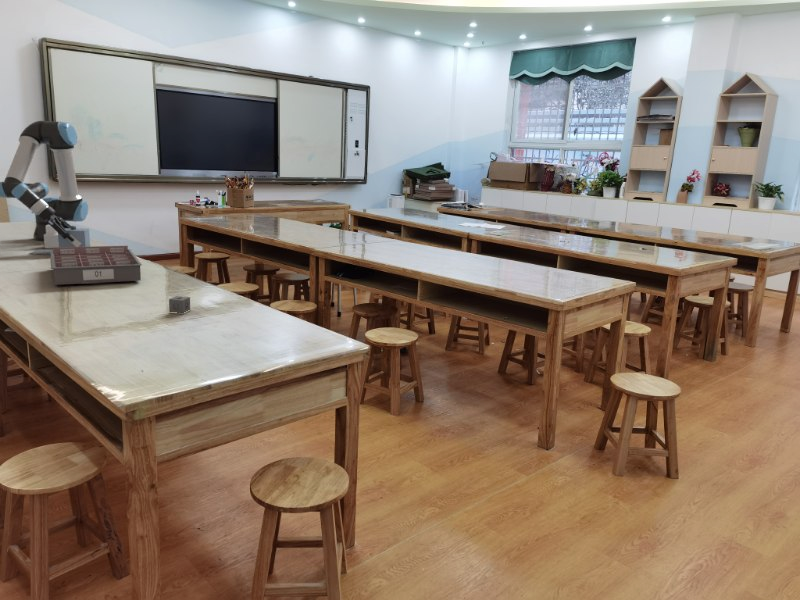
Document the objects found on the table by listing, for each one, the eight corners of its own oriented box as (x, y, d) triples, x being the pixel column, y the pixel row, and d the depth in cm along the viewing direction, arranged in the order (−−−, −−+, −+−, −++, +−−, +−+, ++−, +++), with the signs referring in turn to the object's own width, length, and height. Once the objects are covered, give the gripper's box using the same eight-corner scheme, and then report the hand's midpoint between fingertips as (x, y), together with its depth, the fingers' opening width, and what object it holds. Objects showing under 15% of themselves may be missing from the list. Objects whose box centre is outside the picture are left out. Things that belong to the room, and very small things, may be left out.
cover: (64, 249, 304) (62, 224, 301) (90, 250, 307) (88, 225, 304) (59, 252, 296) (57, 226, 293) (86, 252, 299) (84, 227, 296)
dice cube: (169, 313, 205) (168, 299, 204) (176, 309, 210) (176, 295, 209) (183, 314, 204) (182, 300, 203) (190, 311, 209) (190, 297, 208)
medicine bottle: (47, 246, 317) (45, 223, 314) (63, 246, 319) (61, 223, 316) (44, 248, 310) (42, 225, 307) (59, 248, 312) (58, 225, 310)
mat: (37, 250, 303) (37, 249, 303) (59, 251, 306) (59, 249, 305) (29, 254, 292) (28, 253, 292) (51, 255, 294) (51, 253, 294)
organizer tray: (52, 288, 230) (50, 263, 227) (51, 269, 263) (49, 246, 261) (143, 284, 246) (142, 260, 243) (131, 266, 279) (130, 245, 277)
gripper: (45, 213, 304) (82, 245, 311) (30, 218, 284) (70, 253, 292) (55, 203, 304) (92, 235, 311) (41, 207, 284) (81, 242, 292)
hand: (81, 244), depth 301 cm, fingers closed on cover, 8 cm apart
